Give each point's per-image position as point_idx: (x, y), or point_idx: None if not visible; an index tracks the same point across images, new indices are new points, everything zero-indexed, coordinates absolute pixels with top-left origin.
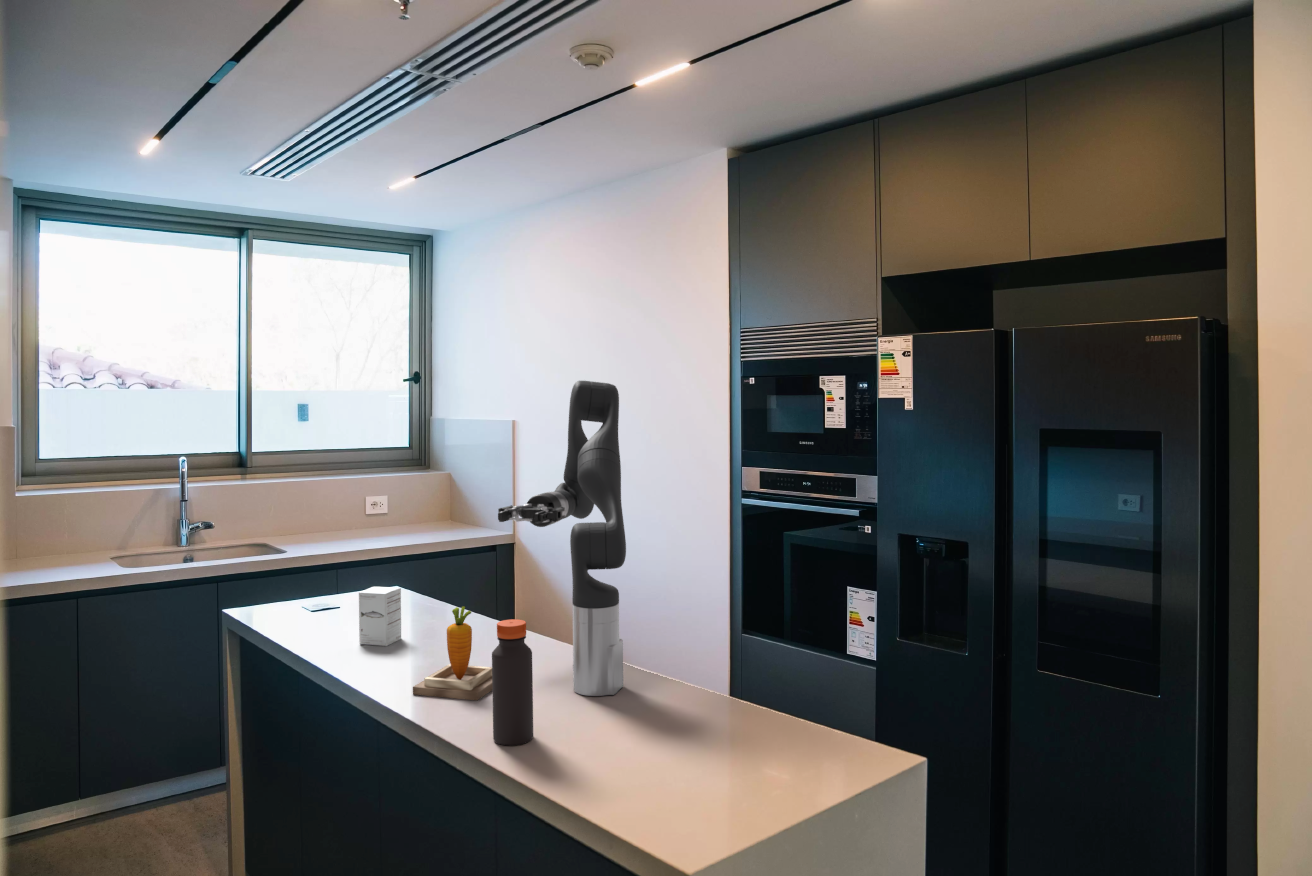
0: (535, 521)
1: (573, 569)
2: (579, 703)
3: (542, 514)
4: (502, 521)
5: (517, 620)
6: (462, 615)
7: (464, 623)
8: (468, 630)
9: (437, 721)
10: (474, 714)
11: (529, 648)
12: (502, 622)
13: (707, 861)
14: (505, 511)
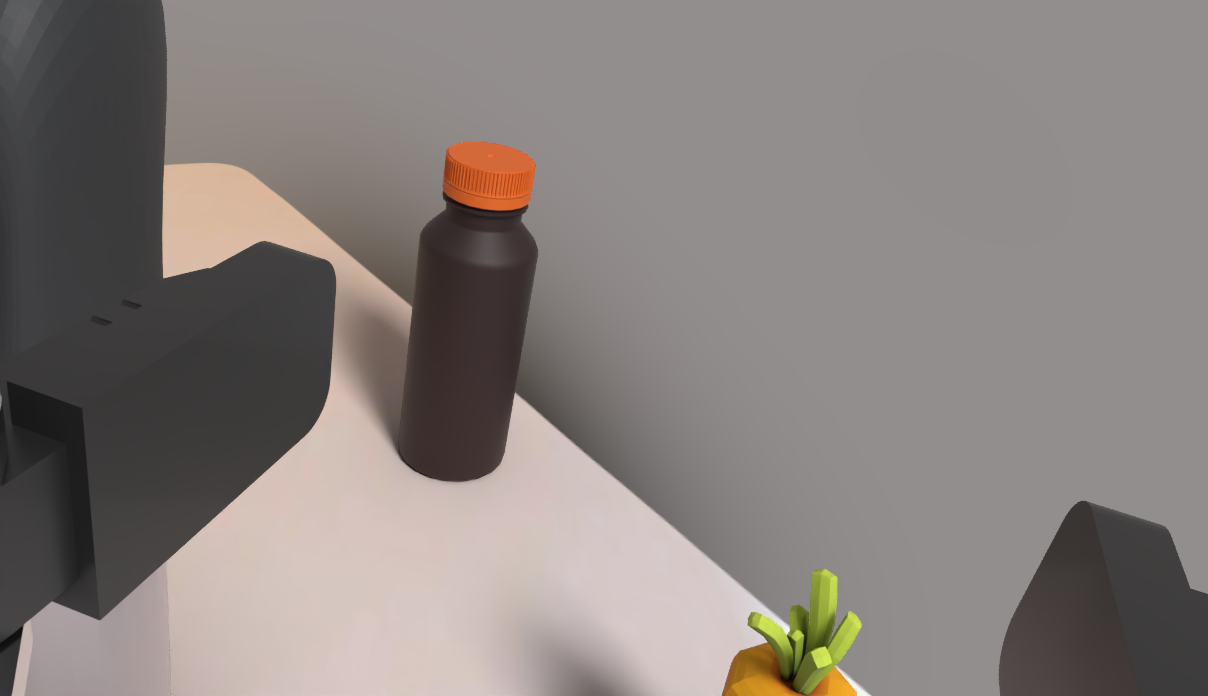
0: (319, 384)
1: (162, 190)
2: (194, 627)
3: (158, 295)
4: (1001, 659)
5: (473, 162)
6: (792, 630)
7: (775, 682)
8: (732, 667)
9: (686, 579)
10: (582, 605)
11: (428, 226)
12: (519, 163)
13: (203, 163)
14: (1110, 616)
